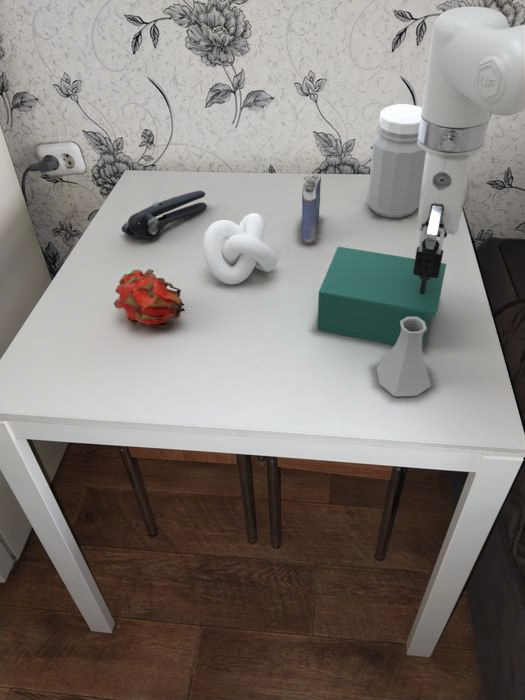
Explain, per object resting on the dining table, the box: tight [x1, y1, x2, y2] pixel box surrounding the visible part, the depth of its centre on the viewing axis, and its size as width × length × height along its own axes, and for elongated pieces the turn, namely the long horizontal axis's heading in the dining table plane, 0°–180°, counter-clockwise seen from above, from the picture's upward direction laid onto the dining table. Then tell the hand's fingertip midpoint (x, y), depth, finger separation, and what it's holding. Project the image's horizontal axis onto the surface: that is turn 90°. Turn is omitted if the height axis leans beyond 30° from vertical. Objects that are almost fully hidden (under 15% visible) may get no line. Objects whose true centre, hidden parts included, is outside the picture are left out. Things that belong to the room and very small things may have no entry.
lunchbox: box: [316, 294, 431, 351], centre depth 88 cm, size 16×12×7 cm
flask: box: [376, 317, 432, 397], centre depth 77 cm, size 7×7×10 cm
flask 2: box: [301, 173, 322, 245], centre depth 104 cm, size 9×3×11 cm, turn 170°
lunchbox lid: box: [318, 246, 447, 317], centre depth 84 cm, size 16×12×5 cm
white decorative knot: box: [202, 212, 278, 285], centre depth 97 cm, size 11×12×9 cm
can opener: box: [121, 190, 208, 240], centre depth 109 cm, size 18×7×6 cm, turn 131°
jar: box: [367, 103, 426, 219], centre depth 106 cm, size 10×10×18 cm
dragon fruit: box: [113, 269, 186, 329], centre depth 90 cm, size 8×8×12 cm
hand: (430, 254), depth 80 cm, fingers open, 9 cm apart
